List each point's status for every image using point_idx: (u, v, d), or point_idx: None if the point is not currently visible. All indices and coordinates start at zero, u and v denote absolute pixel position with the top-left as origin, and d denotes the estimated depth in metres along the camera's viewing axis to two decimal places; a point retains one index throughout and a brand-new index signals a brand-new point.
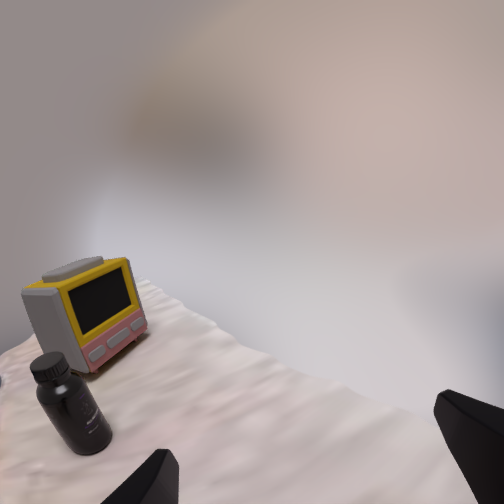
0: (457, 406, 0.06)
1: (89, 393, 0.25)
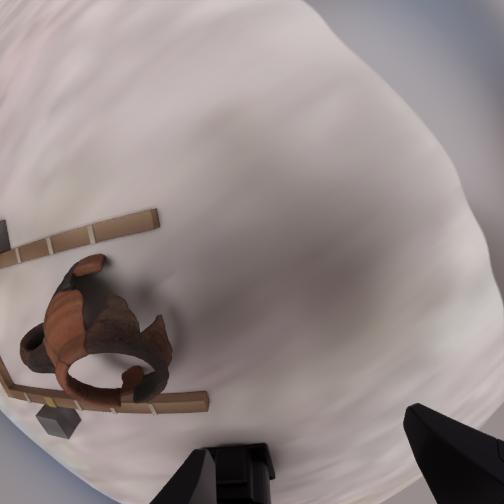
0: (424, 422, 0.06)
1: None
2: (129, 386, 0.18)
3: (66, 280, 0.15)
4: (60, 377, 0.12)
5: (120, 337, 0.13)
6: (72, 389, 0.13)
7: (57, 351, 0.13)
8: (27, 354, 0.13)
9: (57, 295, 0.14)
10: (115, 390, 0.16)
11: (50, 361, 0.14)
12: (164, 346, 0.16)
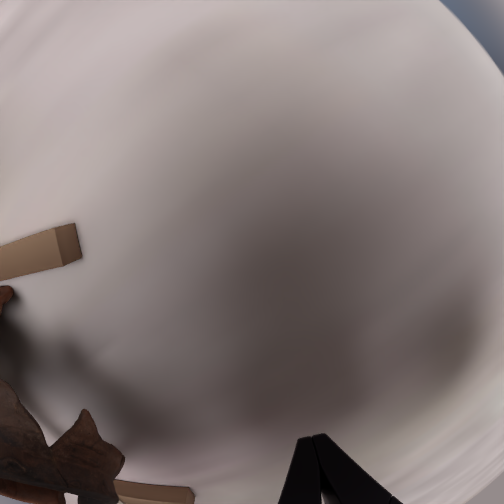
0: (319, 457, 0.06)
1: None
2: None
3: None
4: None
5: (9, 461, 0.04)
6: None
7: None
8: None
9: None
10: None
11: None
12: (101, 459, 0.06)
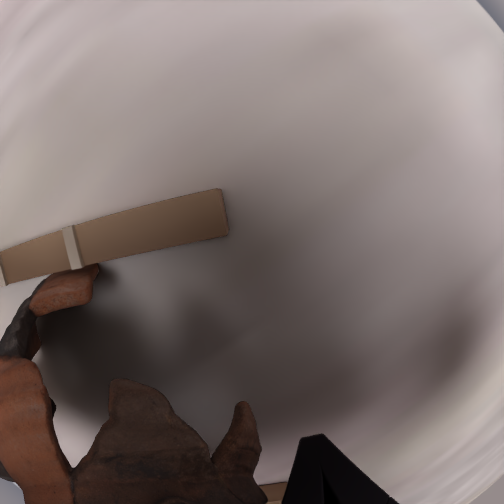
0: (317, 457, 0.06)
1: None
2: None
3: (13, 327, 0.05)
4: None
5: (172, 503, 0.03)
6: None
7: (19, 486, 0.03)
8: None
9: None
10: None
11: None
12: (255, 460, 0.06)
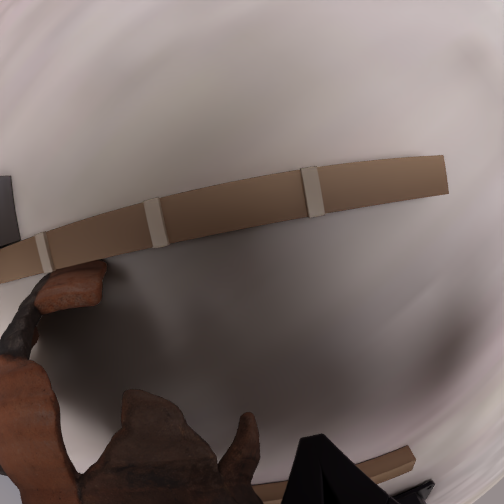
0: (317, 458, 0.06)
1: None
2: None
3: (17, 324, 0.05)
4: None
5: None
6: None
7: (17, 485, 0.03)
8: None
9: None
10: None
11: None
12: (255, 469, 0.06)
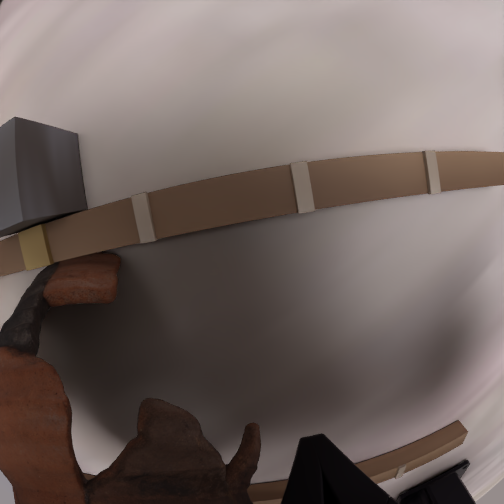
0: (317, 457, 0.06)
1: None
2: None
3: (23, 315, 0.05)
4: None
5: None
6: None
7: (11, 481, 0.03)
8: None
9: None
10: None
11: None
12: None
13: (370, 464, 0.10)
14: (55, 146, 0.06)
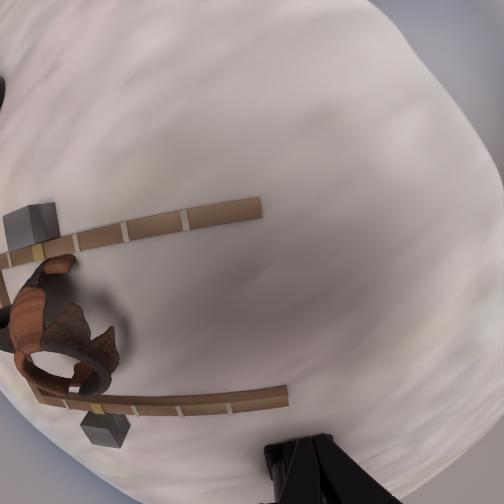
0: (319, 457, 0.06)
1: None
2: (78, 378, 0.18)
3: (35, 276, 0.15)
4: (17, 362, 0.12)
5: (71, 342, 0.13)
6: (27, 373, 0.13)
7: (17, 339, 0.13)
8: None
9: (25, 289, 0.14)
10: (65, 380, 0.16)
11: (12, 343, 0.14)
12: (111, 355, 0.16)
13: (209, 397, 0.20)
14: (45, 212, 0.16)
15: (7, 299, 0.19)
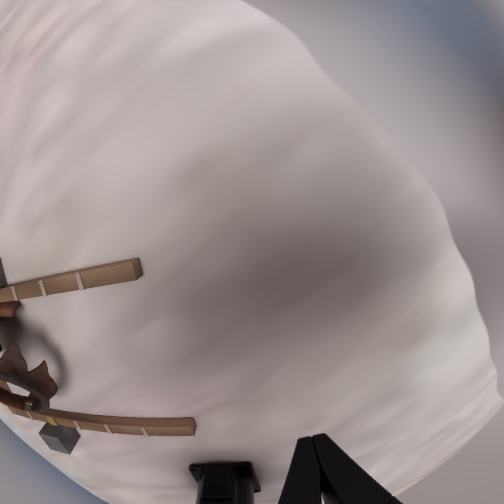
0: (319, 457, 0.06)
1: None
2: (32, 397, 0.18)
3: None
4: None
5: (12, 374, 0.14)
6: None
7: None
8: None
9: None
10: (22, 398, 0.17)
11: None
12: (46, 382, 0.17)
13: (130, 420, 0.21)
14: None
15: None
